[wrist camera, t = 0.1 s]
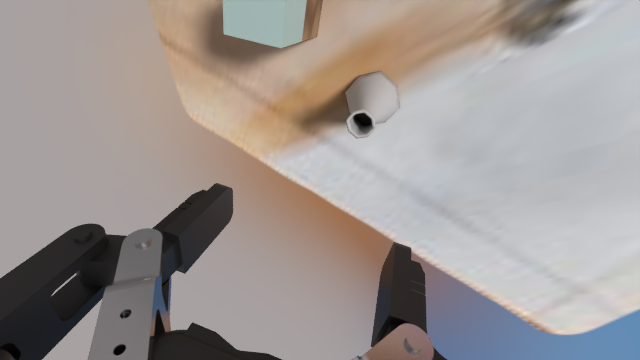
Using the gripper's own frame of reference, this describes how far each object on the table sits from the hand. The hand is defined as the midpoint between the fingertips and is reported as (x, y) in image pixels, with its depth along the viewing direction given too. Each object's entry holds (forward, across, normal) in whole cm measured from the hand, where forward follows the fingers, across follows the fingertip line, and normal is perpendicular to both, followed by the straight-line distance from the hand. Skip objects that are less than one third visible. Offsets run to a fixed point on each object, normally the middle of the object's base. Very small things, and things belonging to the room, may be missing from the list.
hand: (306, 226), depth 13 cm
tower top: (+23, +12, -7) cm, 27 cm away
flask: (+30, 0, +2) cm, 30 cm away
